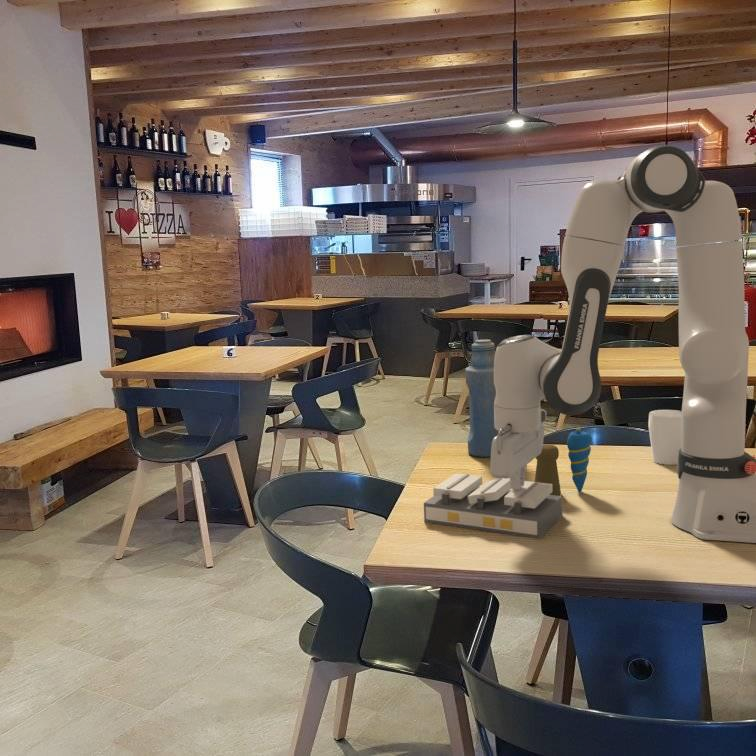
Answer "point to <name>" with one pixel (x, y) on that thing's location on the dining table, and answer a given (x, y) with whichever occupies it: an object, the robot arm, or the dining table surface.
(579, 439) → the ornament
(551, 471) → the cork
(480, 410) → the bottle
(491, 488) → the rocker
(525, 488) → the panel
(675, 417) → the cup
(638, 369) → the dining table surface
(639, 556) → the dining table surface
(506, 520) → the switch unit
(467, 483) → the grooved switch paddle
